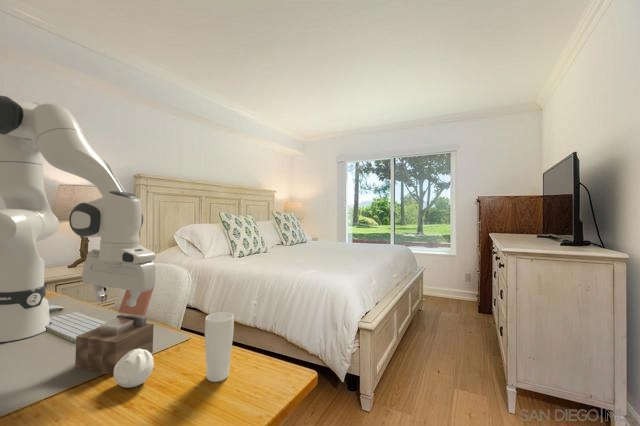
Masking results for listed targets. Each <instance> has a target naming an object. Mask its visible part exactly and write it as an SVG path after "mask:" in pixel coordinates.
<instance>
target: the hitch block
mask: <svg viewBox="0 0 640 426" xmlns="http://www.w3.org/2000/svg"><path fill="white" fill-rule="evenodd" d="M116 318H122V319H130V320H134V324H133V328H131V329H129V330H126V331H124V332H122V333H120V334H118V335H113V334H106V333H100V326H99V327H96V328H94V329H91V330H89V331H86V332H84V333H83V332H82V333H81V334H79V335H76V336H75V367H74V368H75V369H79V370H86V371H88V372H89V371H90V372H95V373H101V374H106V375H113V372H114V368H115V366H116V364H117V363H118V362H119V360H120V359H121V358H122V357H123V356H125V355H126V354H127V353H128V352H130V351H132V350H134V349H139V348H140V349H144V350H147V351H149V352H150V353H151V354H152V353H153V351H154V323H150V322H149V323H148V322H147V316H141V315H134V314H126V313H120V314H118V315H116ZM113 376H114V375H113Z"/></svg>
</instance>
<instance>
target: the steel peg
mask: <svg viewBox="0 0 640 426" xmlns="http://www.w3.org/2000/svg"><path fill="white" fill-rule="evenodd" d="M133 324H134V320H130V319H122V318H117V317H116V318H114V319H112V320H109V321H107V322H104V323H101V324H100V325H99V327H100V333H106V334H113V335H118V334H120V333H122V332H124V331H126V330H129V329H131V328H133Z"/></svg>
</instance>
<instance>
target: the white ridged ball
mask: <svg viewBox="0 0 640 426" xmlns="http://www.w3.org/2000/svg"><path fill="white" fill-rule="evenodd" d="M154 365H155V364H154V355H152V353H150V352H149V351H147V350H144V349H140V348H139V349H134V350H132V351H130V352H128V353H127V354H126V355H125V356H123V357H122V358H121V359H120V360H119V362H118V363H117V364H116V366H115V368H114V372H113V378H114V381H115V382H116V383H115V384H117V385H119V386H120V387H123V388H126V389H127V388H135V387H138V386H140V385H141V384H143V383H145V382H146V381H147V380H148V379H149V377H150V375H151V374H152V372H153V370H154Z"/></svg>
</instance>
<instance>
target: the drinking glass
mask: <svg viewBox="0 0 640 426" xmlns="http://www.w3.org/2000/svg"><path fill="white" fill-rule="evenodd" d="M234 323H235V317H234V313H231V312H228V311H227V312H226V311H218V312H213V313H210V314H208V315H206V316H205V322H204V347H205V363H206V365H205V367H206V368H205V369H206V372H205V376H206V377H205V378H206V379H207V380H208V381H209V382H212V383H218V382H223V381H225V380H227V378H229V375H230V366H231V364H230V363H231V355H232V346H233V339H234V330H235V329H234V327H235V324H234Z"/></svg>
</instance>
